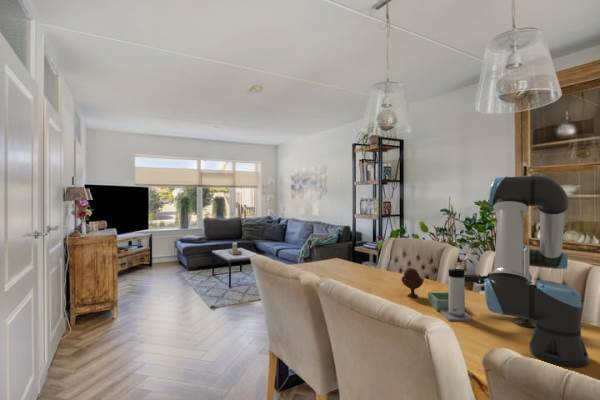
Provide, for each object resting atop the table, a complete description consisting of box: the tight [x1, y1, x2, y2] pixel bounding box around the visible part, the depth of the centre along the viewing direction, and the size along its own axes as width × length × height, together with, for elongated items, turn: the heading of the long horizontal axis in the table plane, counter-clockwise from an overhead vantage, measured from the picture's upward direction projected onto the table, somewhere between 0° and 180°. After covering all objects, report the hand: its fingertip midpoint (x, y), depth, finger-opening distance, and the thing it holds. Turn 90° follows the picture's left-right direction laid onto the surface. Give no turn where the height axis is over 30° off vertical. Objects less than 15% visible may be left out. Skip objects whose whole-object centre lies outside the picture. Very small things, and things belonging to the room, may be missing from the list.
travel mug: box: [448, 268, 466, 317], centre depth 140 cm, size 6×7×20 cm
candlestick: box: [512, 237, 536, 329], centre depth 131 cm, size 11×11×35 cm
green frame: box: [427, 291, 449, 312], centre depth 152 cm, size 12×12×5 cm
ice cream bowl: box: [401, 267, 425, 299], centre depth 168 cm, size 11×11×15 cm
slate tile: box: [439, 310, 474, 322], centre depth 140 cm, size 10×10×1 cm
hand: (461, 284), depth 141 cm, fingers open, 13 cm apart
